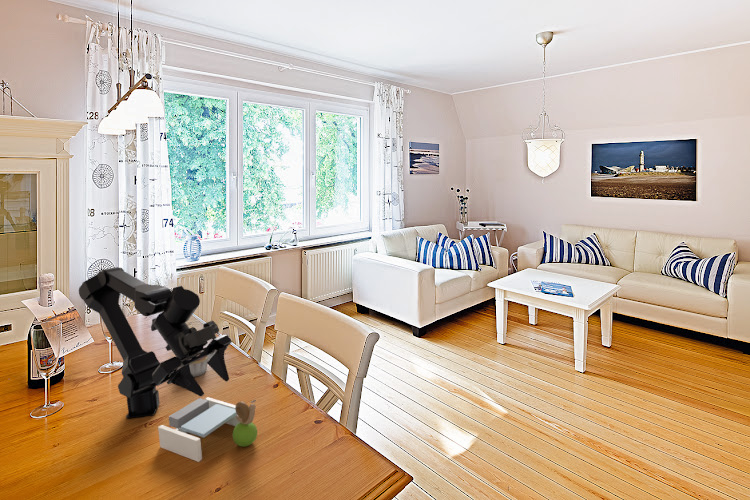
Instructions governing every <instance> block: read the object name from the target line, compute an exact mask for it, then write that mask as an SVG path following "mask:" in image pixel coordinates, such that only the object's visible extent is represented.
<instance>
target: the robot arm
mask: <svg viewBox="0 0 750 500" xmlns="http://www.w3.org/2000/svg"><path fill="white" fill-rule="evenodd" d="M81 283H82V284H81V285H80V286H79V288H78V295H79V297H80V299H82V301H83V302H84V303H85V305H86V307H87V308H88V309H91V310H92V311H94V312H96V313H98V314H99V315H100V318H101V320H102V321H103V323H104V326H105V327H106V329H107V331H108V333H109V336H110V337H111V339H112V341H113V343H114V344H115V346H116V349H117V351H118V352H119V355H120V356H121V359H122V360H123V363H122V369H121V375H122V378H121V380H120V382H119V384H118V385H117V388H118V391H119V394H120V395H122V396H124V397H126V404H127V405H126V406H127V412H128V413H127V414H126V416H125V418H126V419H134V418H141V417H148V416H149V417H150V416H154V415H155V414H156V411H157V409H158V408H159V407H160V395H159V390H158V389H157V388H156V387H158V386H161V385H163V384H164V383H166V384H167V385H174V386H178V387H179V388H183V389H185V390H186V391H189V392H191V393H193V394H194V395H197V396H199V397H203V396H204V395H205V392H204V390H203V388H202V387H201V386H200V384H199V382H197V380H196V378H195V377H193V375H192V374H191V372H190V366H189V364H191V363H193V362H195V361H197V360H199V359H201V358H203V357H205V356H207V357H208V358H209V361H208V362H207V366H209V367H210V368H211V369H212V370H213V371H214V372H215V374H217V375H218V376H219V377H220V378H221V379H222V380H223V381H224V382H225V383H228V381H229V380H230V376H229V372H228V368H227V365H226V362H225V361H226V360H225V352H226V351H227V349H228V347H229V346H230V345H231V344H232V342H233V341H232V339H231V338H230V336H229V335H227V334H221V335H218V336H217V335H216V334H218V333H219V332H220V328H219V326H218V324H217V323H216V322H215V321H214V320H209V321H207V322H206V323H203V326H202V327H203V328H201V329H199V330H197V329H196V328H195V327H194V326H192V327H190V326H188V324H187V322H188V321H189V320H190V318H191V317H192V316H193V315H194V313H195V311H196V310H197V309H198V308H199V305H200V304H201V299H200V297H199V295H198V294H197V293H195V292H194V291H192V290H190V289H186V288H184V287H183V285H179V286H178V285H177V286H175V287H173V289H172V290H171V289H170V288H168V287H167V286H163V285H159V284H148V283H146V282H144V281H142V280H140V279H139V278H137V277H135V276H133V275H132V274H130V273H128V272H126V271H125V270H124V269H123V268H122V267H118V266H116V267H110V268H104V269H102V270H101V271H98V273H97V274H96V275H94V276H91V277H90V278H88V279H87V280H84V281H83V282H81ZM121 295H123V296H124V297H126V298H128V299H129V300H131V301H132V302H134V309H135V310H136V311H138V313H140V314H141V315H142V316H144V317H146V318H147V317H150V316H154V315H157V314H158V315H157V316H156V317H155V318H152V319H151V326H150V331H152V332H155V331H157V332H158V333H159V334H160V336H161V337H162V338H163V340H164V341H165V343H166V346H165V349H166V351H167V352H169V351H172V354H174V355H175V356H173V357H170V358H168V359H166V360H163V361H162V362H160V361H159V359H158V358H157V355H156V353H155V352H154V351H152V350H151V351H149V352H148V351H146V350H144V349H143V348H142V345H141V343H140V342H139V340H138V338H137V336H136V334H135V332H134V331H133V330H134V329H132V326H131V325H130V323H129V321H128V318H127V317H126V315H125V313H124V312H123V310H122V308H121V306H120V303H119V302H120V297H121ZM208 341H210V342H208ZM208 343H209V344H208ZM205 346H206V347H205ZM203 347H204V348H203ZM199 354H200V355H199ZM197 355H199V356H197Z"/></svg>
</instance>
